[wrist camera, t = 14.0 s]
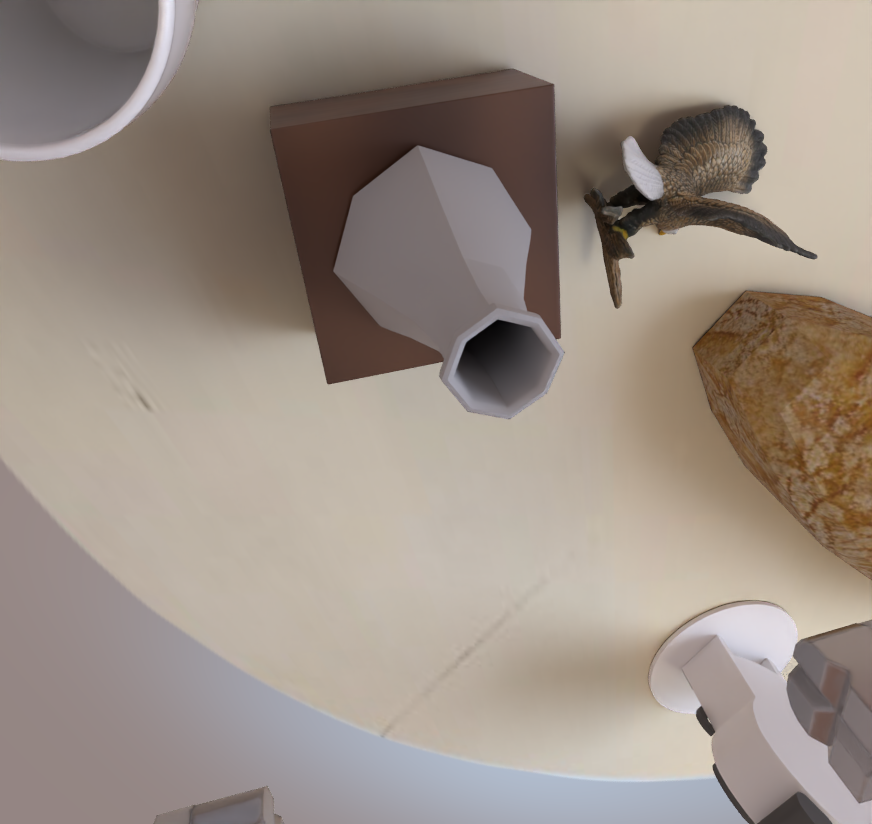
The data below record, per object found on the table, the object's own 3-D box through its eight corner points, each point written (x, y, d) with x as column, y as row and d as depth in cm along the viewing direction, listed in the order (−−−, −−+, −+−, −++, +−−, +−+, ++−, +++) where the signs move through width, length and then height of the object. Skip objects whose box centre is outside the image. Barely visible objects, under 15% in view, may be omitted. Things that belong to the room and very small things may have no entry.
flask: (449, 365, 30) (519, 514, 22) (299, 275, 27) (312, 410, 19) (560, 220, 28) (686, 325, 20) (410, 105, 25) (483, 171, 16)
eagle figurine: (603, 319, 35) (795, 276, 34) (623, 300, 28) (866, 245, 27) (570, 164, 35) (761, 116, 34) (582, 106, 28) (823, 43, 27)
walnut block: (320, 334, 34) (327, 385, 30) (269, 106, 29) (269, 129, 24) (526, 294, 35) (561, 338, 31) (514, 68, 30) (554, 84, 25)
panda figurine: (611, 684, 52) (720, 911, 39) (723, 576, 48) (883, 789, 36) (715, 724, 57) (842, 936, 45) (823, 630, 54) (994, 831, 41)
